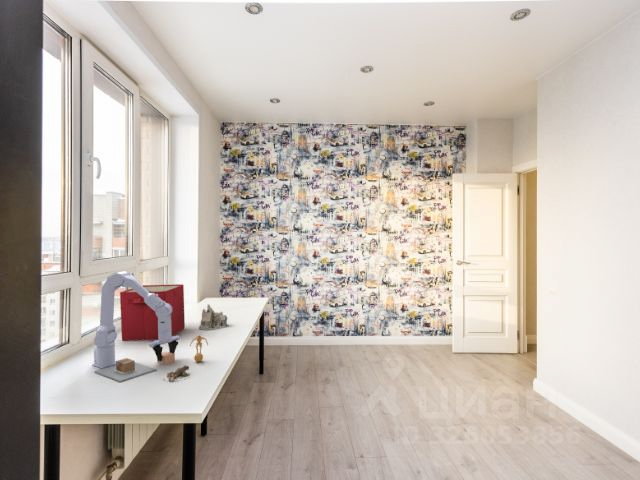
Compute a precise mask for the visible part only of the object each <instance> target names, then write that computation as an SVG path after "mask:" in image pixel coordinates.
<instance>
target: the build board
mask: <svg viewBox="0 0 640 480" xmlns="http://www.w3.org/2000/svg"><path fill="white" fill-rule="evenodd" d="M155 371H157V368H155V367H151V366H149V365H145V364H142V363H138V362H135V370H132V371H129V372H126V373H123V372H120V371H118V370H116V364H115V365H112V366H108V367H105V368H100V369H97V370H94V374H98V375H100V376H103V377H105V378H107V379H111V380H114V381H115V382H117V383H122V382H125V381H128V380H131V379H134V378H138V377H141V376H144V375H147V374H150V373H152V372H155Z"/></svg>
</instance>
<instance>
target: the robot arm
mask: <svg viewBox="0 0 640 480" xmlns="http://www.w3.org/2000/svg"><path fill="white" fill-rule="evenodd" d="M119 288H129V289H133V290H134V291H136V292H137V293H138V294H139V295H141V296H142V297H143V298H144V302H145V303H146V304H147V305H148V306H149V307H151V308H152V309H153V310H154V311H156V316H157V317H158V337H159V340H153V341H152V342H149V348H152V350H153V351H154V354H155V356H156V360H157V359H158V361H162V352H163V346H162V345H165V344H168V352H170V353H174V354H176V353H175V352H176V349H177V346H178V345H179V341H180V340H181V335H174V336H172V333H171V313H172V307H171V305H170V304H168V303H166V302H165V301H162V300H161V299H160V298H159V297H158V296H159V295H158V294H154V293H149V292H148V291H147V290H146V289H145V288H144V287H143V285H142V283H140V282H139V281H138V280H137V279H136V277H135V276H134V275H133V274H131V273H130V272H129V271H127V270H123V271H119V272H113V273H111V274H110V275H108V276H107V278H106V280H105V282H104V283H103V285H102V286H101V293H100V294H101V295H100V296H101V297H100V317H99V318H100V319H99V326H98V328H97V330H96V334H95V336H94V338H93V343H94V345H95V347H94V350H93V357H94V358H93V363H92V366H94V367H97V368H100V369H103V368H107V367H110V366H114V365H116V361H117V360H116V345H115V344H116V343H115V340H116V339H117V337H118V334H117V331H116V326H115V325H114V313H115V292H116V291H117V290H118V289H119ZM168 315H169V316H168Z"/></svg>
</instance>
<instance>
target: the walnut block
mask: <svg viewBox="0 0 640 480" xmlns="http://www.w3.org/2000/svg"><path fill="white" fill-rule="evenodd" d="M115 361H116V364H115V365H116V370H118V371H120V372H123V373H126V372H129V371H132V370H135V360H133V359H131V358H127V357H125V358H121V359H118V360H115Z"/></svg>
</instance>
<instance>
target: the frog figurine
mask: <svg viewBox="0 0 640 480" xmlns="http://www.w3.org/2000/svg"><path fill="white" fill-rule="evenodd" d="M189 370H190V366H189V365H183V366H182V367H179V368H178V367H177V368H176V370H175V372H174V371H170V372H167V373H166V376H164V377H163V378H162V380H163V381H166V382H167V383H176V382H180V381H181V382H182V381H185V380H187V379H189V378H190V374H189V373H188V372H186V371H189ZM183 377H184V378H183Z"/></svg>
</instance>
